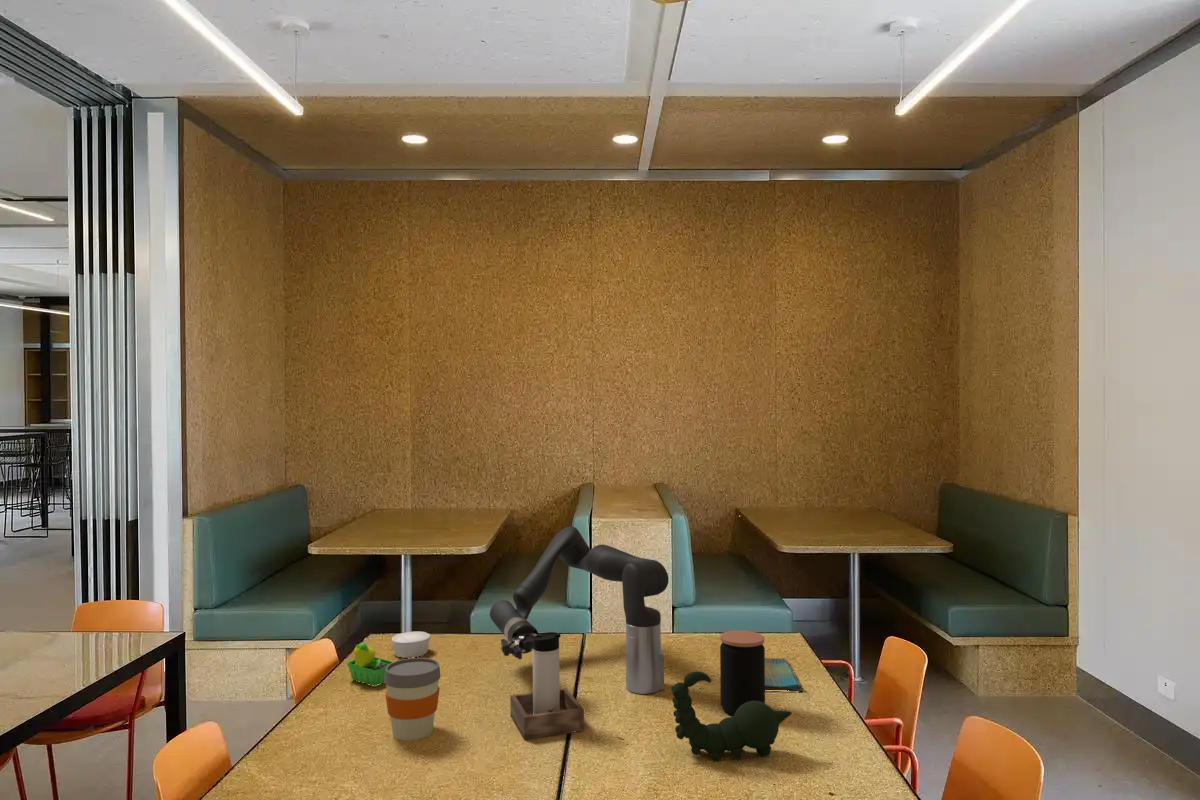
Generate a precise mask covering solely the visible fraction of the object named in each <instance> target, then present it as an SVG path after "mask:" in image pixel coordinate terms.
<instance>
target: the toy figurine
mask: <svg viewBox="0 0 1200 800" xmlns="http://www.w3.org/2000/svg"><path fill="white" fill-rule="evenodd" d="M702 681H705V682H707V683H709V684H710V683H712V679H711V677H710V676H709V675H708V674H706V673H705V672H702V671H697V670H695V671H692V672H689V673H687V674H686V675H685V676H684V678H683V682H676V683H675V684H674V685H672V686H671V688H670V690H671V694H672V696H673V697H672V699H671V700H672V703H673V708H674V709H675V710H674V711H673V712H672V713H673V717H675V718H674V719H675V720H674V721H675V723H677V724H678V725H676V726H675V728H674V729H675V733H676V738H677V739H678V740H683V739H685V738H686V739H688V744H689V745H690V747H691V749H690V751H691V754H692V755H694V756H699V755H700V754H701V750H704V751H705V752H706V753H708V754H710V757H711V759H712V760H713V761H715V760H716V761H719V760H720V759H721V757H722V755H721V754H723V753H725V752H729V753H730V755H731V756H732V758H733V759H737V760H739V759H740V758H741V757H742V756H743V753H744V752H743V748H744V747H748V748H749V749H754V750H755V751H756V753H757V754H758V755H760V756H761V757H768V756H769V755H770V754H771V750H772V746H771V745H774V743H775V741H776V738H777V736H778V733H779V727H780V725H781V724H782V723H783V722H784V721H785V720H786V719H788V718H789V717H790V716H791V715H792V711H790V710H775V709H773V708H772V707H771V706H770V705H768V704H767V703H766V702H765V703H763V702H760V701H749V702H746V703H744V704H742V705H741V706H740V707H739V708H738V709H737V711H736V712H735V715H734V717H733V716H729V717H725V718H723V719H721V720H720V721H719V723H714V722H713V723H708V724H705V723H701V722H700V720H699V718H698V717H697V715H696V710H695V709H694V707H693V705H692V704H693V703H692V702H693V699H692V697H691V695H690V694H689V692H690V689H689V688H691V687H693V686H695V685H696V684H697V683H698V682H702Z"/></svg>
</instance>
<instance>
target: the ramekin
mask: <svg viewBox="0 0 1200 800" xmlns="http://www.w3.org/2000/svg"><path fill="white" fill-rule="evenodd" d="M430 640H431V634H430V633H428V632H426V631H406V632H401V633H398V634H395V635H394V636H392V638H391V643H392V646H393V651H394V655H395V656H396V657H397V656H399V657H403V658H402V659H404V658H412V657H417V658H420V657H419V656H421V657H423V656H425V655H426V654H427V653H428V650H429V646H430ZM424 654H425V655H424ZM422 655H423V656H422ZM399 657H398V658H399Z"/></svg>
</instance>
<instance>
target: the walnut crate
mask: <svg viewBox="0 0 1200 800" xmlns="http://www.w3.org/2000/svg"><path fill="white" fill-rule="evenodd" d="M509 697H510V702H509V704H510V718H511V719H513V720H512V721H513V723H514V725H515V726H516V728H517V730H518V731H519V733H520V736H521V738H523V741H528V740H533V739H534V740H535V739H541V738H546V737H547V738H548V737H554V736H560V735H569V734H572V733H571V732H574V731H581V732H583V731H582V730H584V731H585V708H583V706H582V705H581V704H580V702H579V701H578V700H577V699H576V698H575V696H574V695H573V694H572V693H571V692H570V690H569V689H568V688H567V687H563V688H560V711H555V712H548V713H540V714H533V691H532V692H524V693H518V694H510V696H509ZM574 733H575V732H574Z"/></svg>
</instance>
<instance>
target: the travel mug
mask: <svg viewBox="0 0 1200 800" xmlns="http://www.w3.org/2000/svg"><path fill="white" fill-rule="evenodd" d="M560 638H561V633H560V632H554V631H551V632H550V631H549V632H543V633H539V634H538V635H536V636H535V637H534V638H533V650H532V692H533V714H540V713H548V712H555V711H560V689H561V688H560Z"/></svg>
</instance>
